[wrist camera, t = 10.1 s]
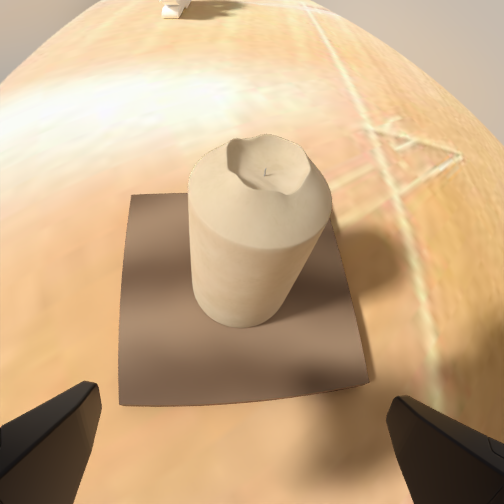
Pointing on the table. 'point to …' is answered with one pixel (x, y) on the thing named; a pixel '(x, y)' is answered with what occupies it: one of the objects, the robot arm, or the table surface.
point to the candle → (252, 226)
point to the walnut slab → (223, 337)
